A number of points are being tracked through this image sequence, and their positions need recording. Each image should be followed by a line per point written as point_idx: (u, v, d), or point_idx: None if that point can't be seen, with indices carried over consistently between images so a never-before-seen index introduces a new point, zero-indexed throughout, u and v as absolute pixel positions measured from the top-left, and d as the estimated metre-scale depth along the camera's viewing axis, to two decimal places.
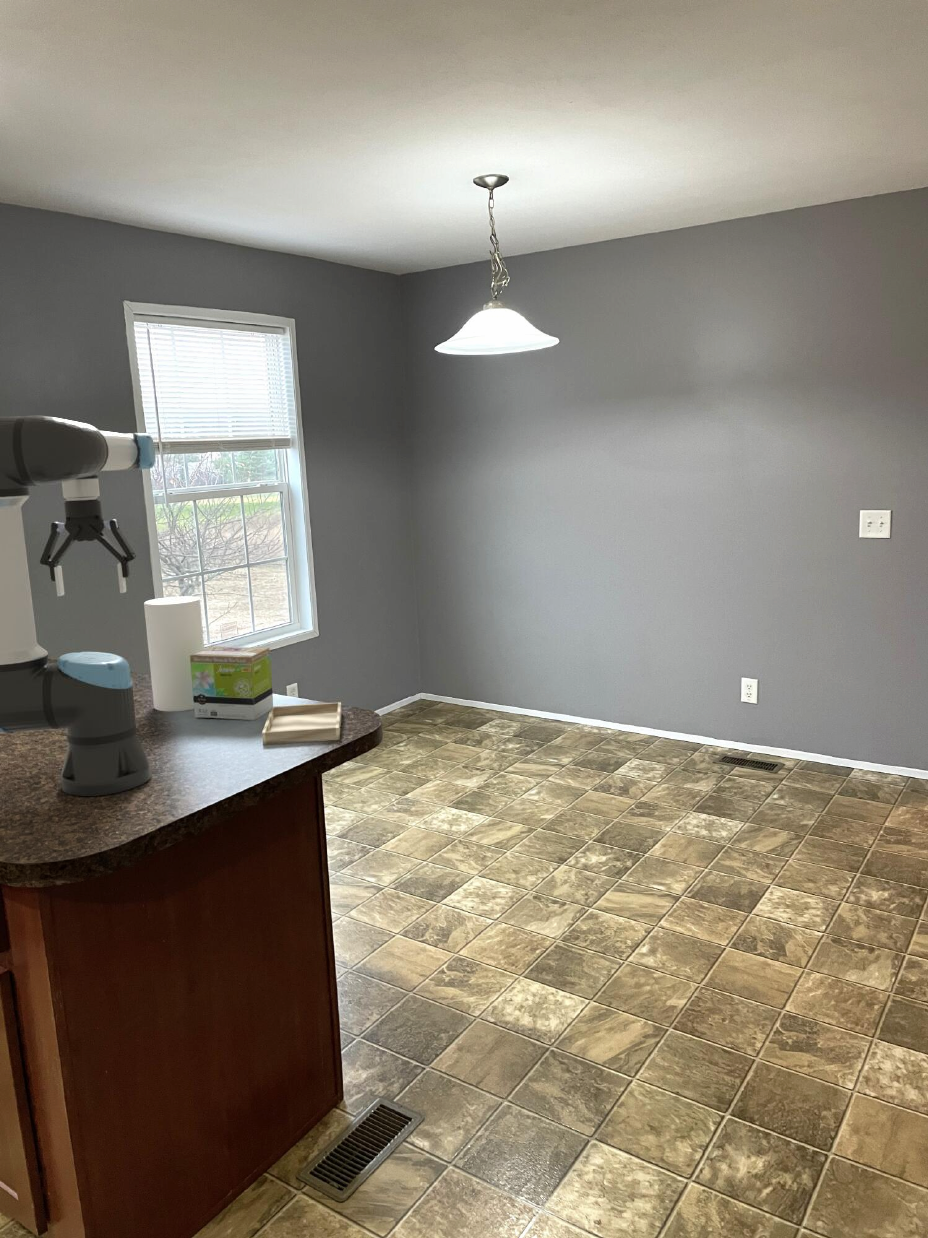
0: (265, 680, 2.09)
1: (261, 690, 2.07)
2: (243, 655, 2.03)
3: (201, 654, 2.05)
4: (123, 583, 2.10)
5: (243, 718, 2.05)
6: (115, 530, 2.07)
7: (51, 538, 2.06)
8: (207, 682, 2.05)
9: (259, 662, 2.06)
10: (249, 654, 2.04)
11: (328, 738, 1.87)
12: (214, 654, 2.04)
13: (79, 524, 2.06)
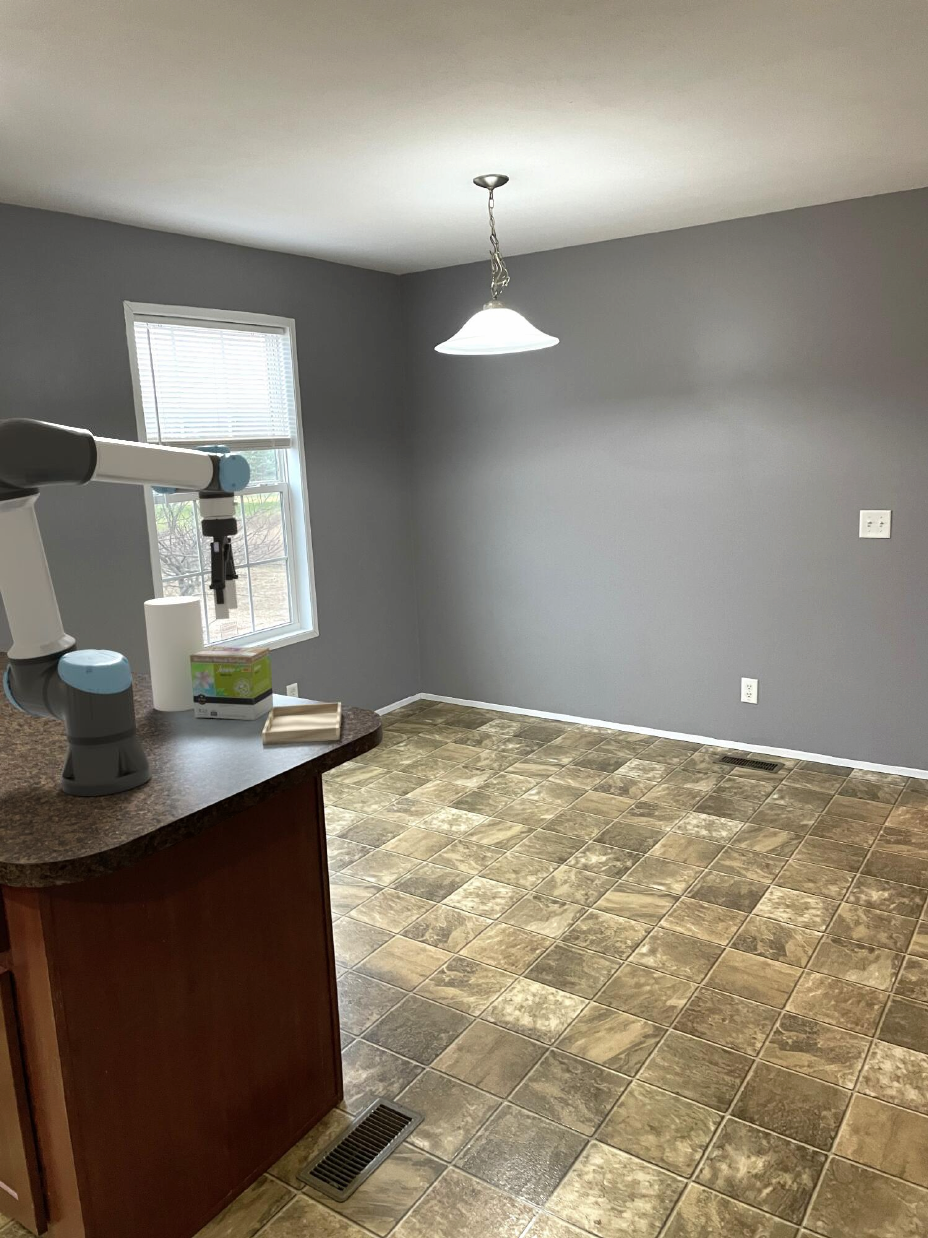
0: (265, 680, 2.09)
1: (261, 690, 2.07)
2: (243, 655, 2.03)
3: (201, 654, 2.05)
4: (218, 609, 1.99)
5: (243, 718, 2.05)
6: None
7: None
8: (207, 682, 2.05)
9: (259, 662, 2.06)
10: (249, 654, 2.04)
11: (328, 738, 1.87)
12: (214, 654, 2.04)
13: None
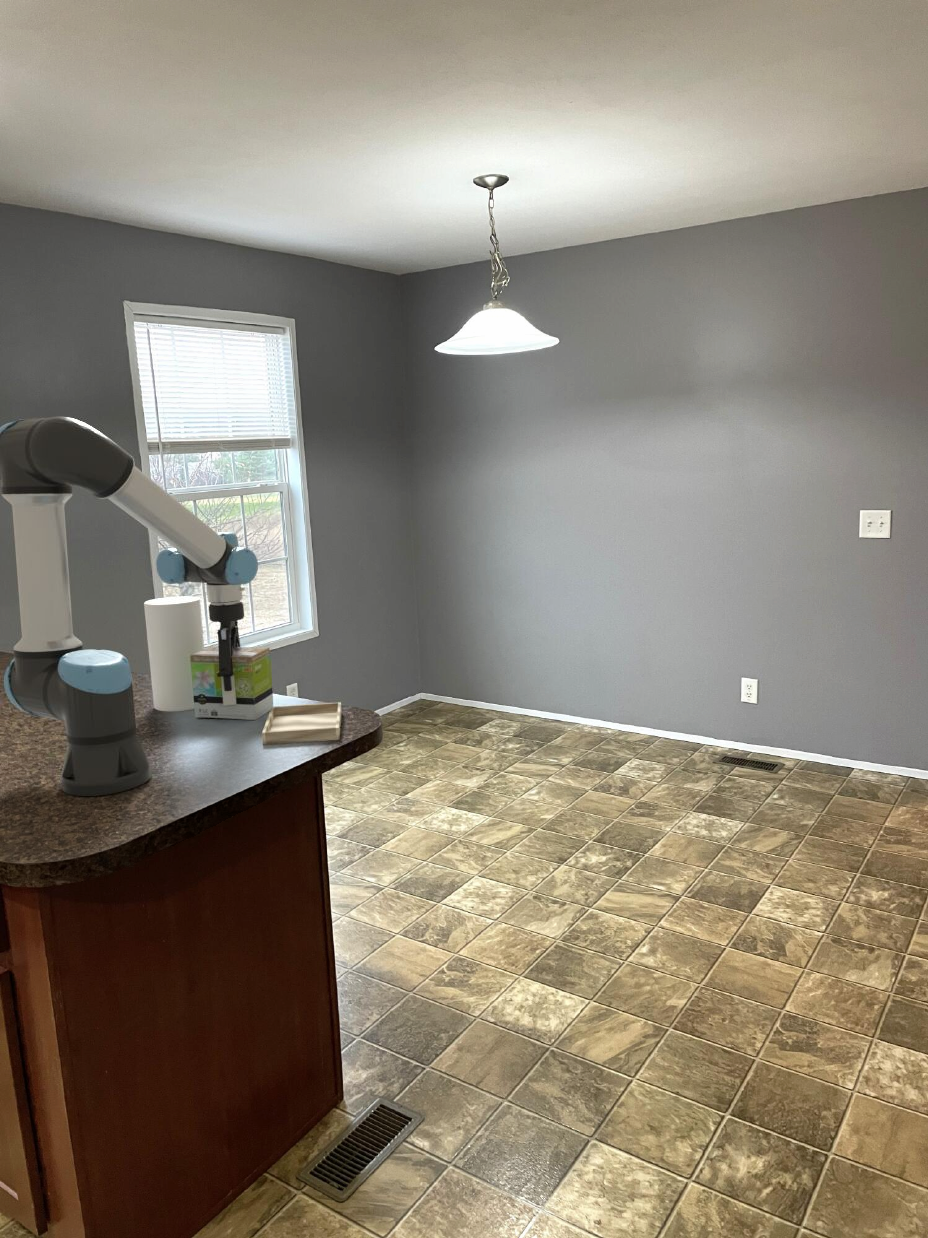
0: (265, 680, 2.09)
1: (262, 690, 2.07)
2: (244, 655, 2.03)
3: (201, 654, 2.05)
4: (226, 696, 2.03)
5: (244, 718, 2.05)
6: None
7: None
8: (207, 682, 2.05)
9: (260, 662, 2.06)
10: (250, 654, 2.04)
11: (328, 738, 1.87)
12: (214, 654, 2.04)
13: None
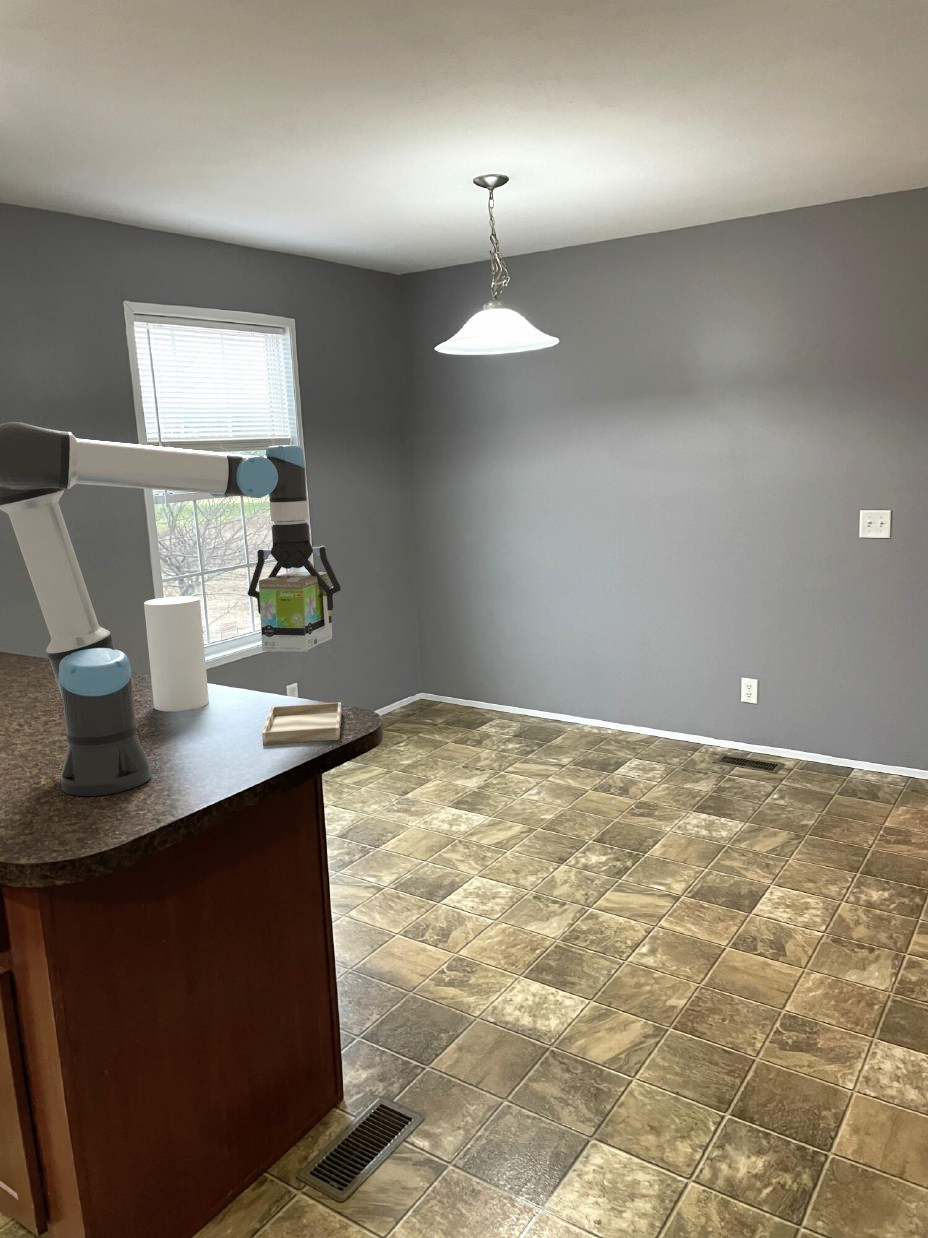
0: None
1: None
2: (321, 572, 1.96)
3: (304, 578, 1.86)
4: None
5: (328, 638, 1.97)
6: (324, 558, 1.90)
7: (258, 567, 1.89)
8: (312, 607, 1.88)
9: None
10: (318, 572, 1.97)
11: (328, 738, 1.87)
12: (309, 576, 1.89)
13: (287, 549, 1.89)
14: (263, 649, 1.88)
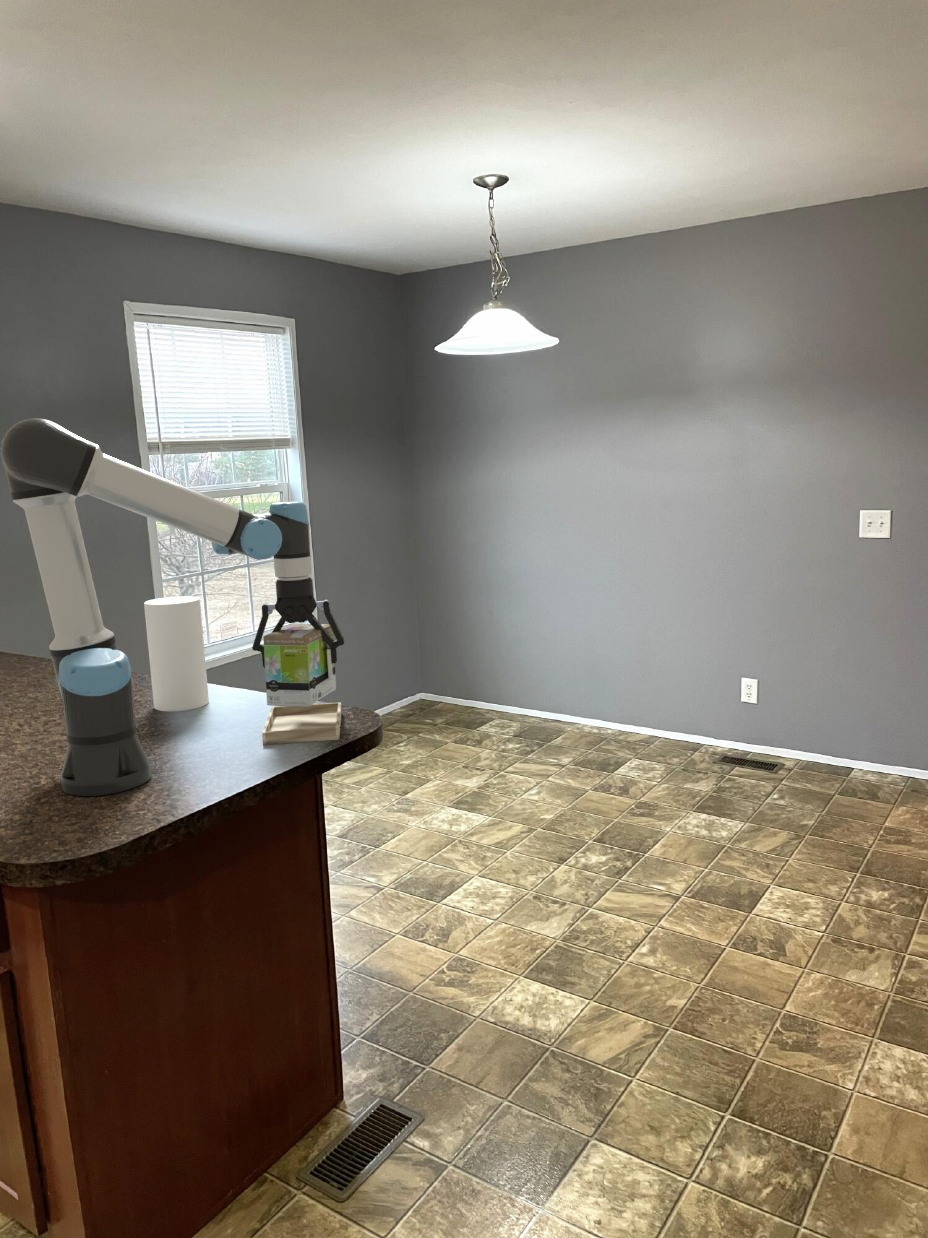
0: None
1: None
2: (324, 625, 1.98)
3: (308, 633, 1.88)
4: (331, 669, 1.95)
5: (331, 690, 1.99)
6: (328, 612, 1.92)
7: (262, 622, 1.91)
8: (316, 661, 1.90)
9: None
10: (322, 624, 1.99)
11: (328, 738, 1.87)
12: (313, 631, 1.91)
13: (291, 604, 1.91)
14: (268, 703, 1.90)
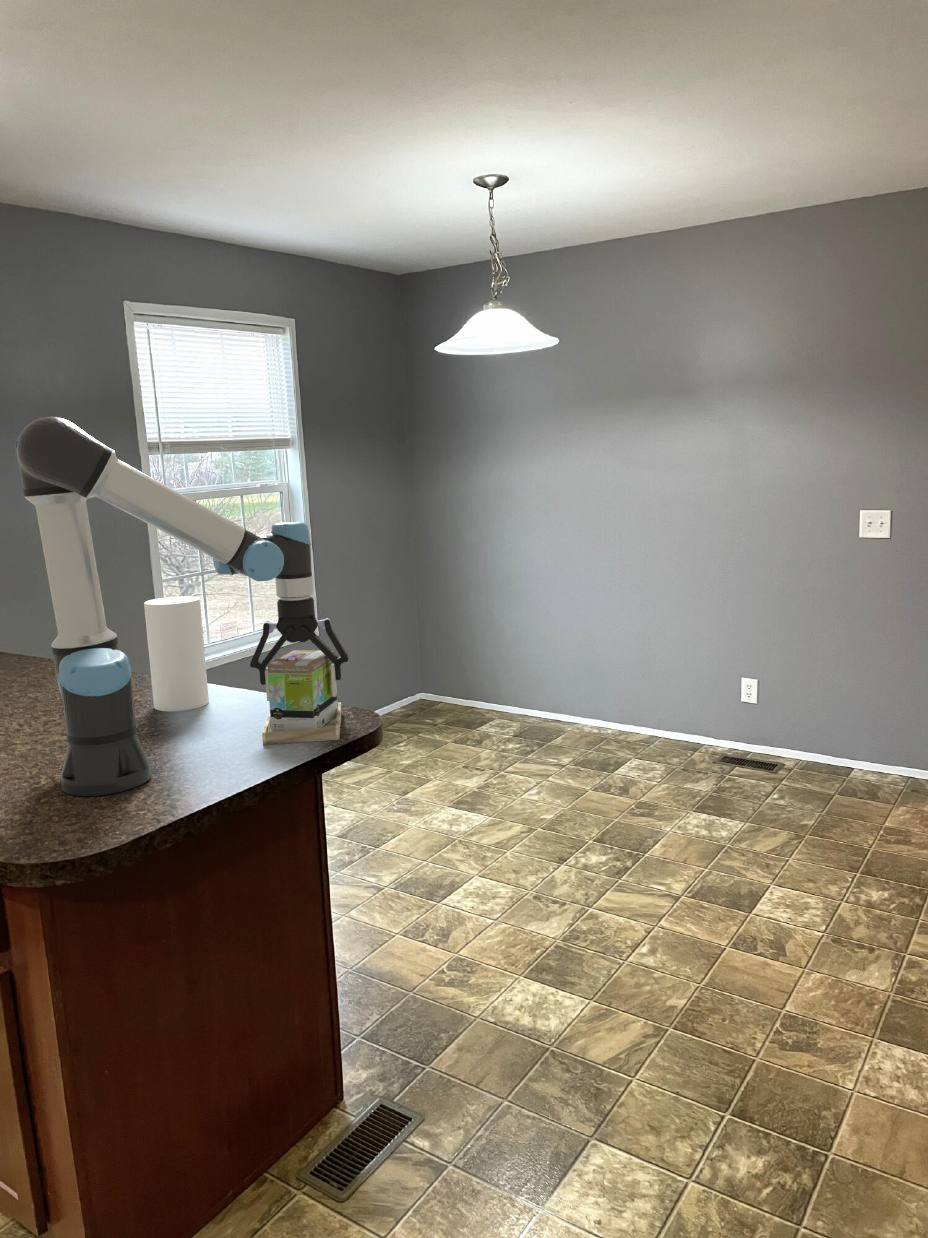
0: None
1: None
2: None
3: (312, 661, 1.89)
4: (335, 686, 1.96)
5: (334, 716, 2.00)
6: (330, 630, 1.93)
7: (263, 640, 1.92)
8: (320, 688, 1.91)
9: None
10: None
11: (328, 738, 1.87)
12: (317, 658, 1.92)
13: (292, 624, 1.92)
14: None
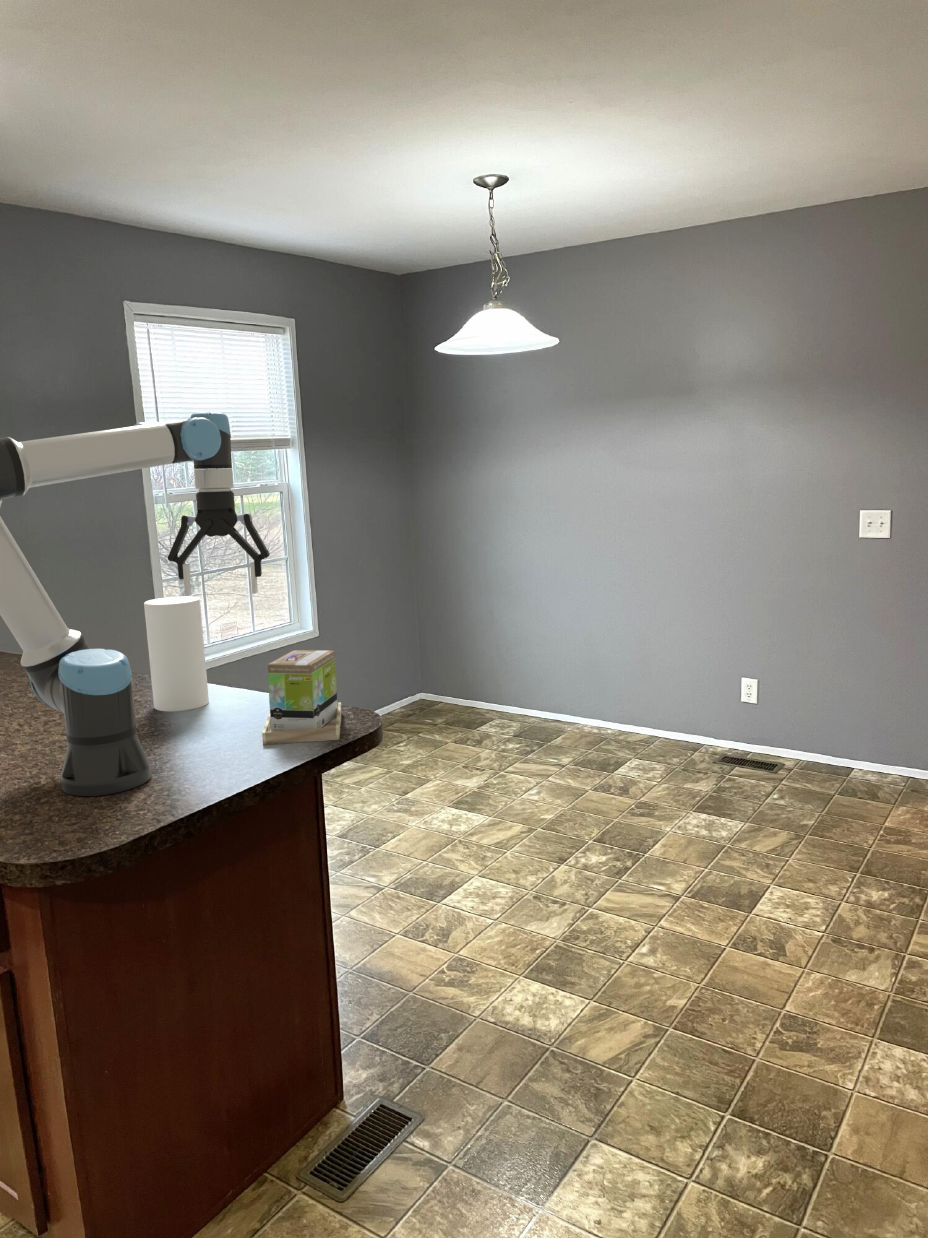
0: None
1: None
2: (327, 652, 1.99)
3: (312, 661, 1.89)
4: (255, 583, 1.92)
5: (334, 716, 2.00)
6: (249, 525, 1.90)
7: (181, 532, 1.89)
8: (320, 688, 1.91)
9: None
10: (324, 651, 2.00)
11: (328, 738, 1.87)
12: (317, 658, 1.92)
13: (211, 518, 1.89)
14: None
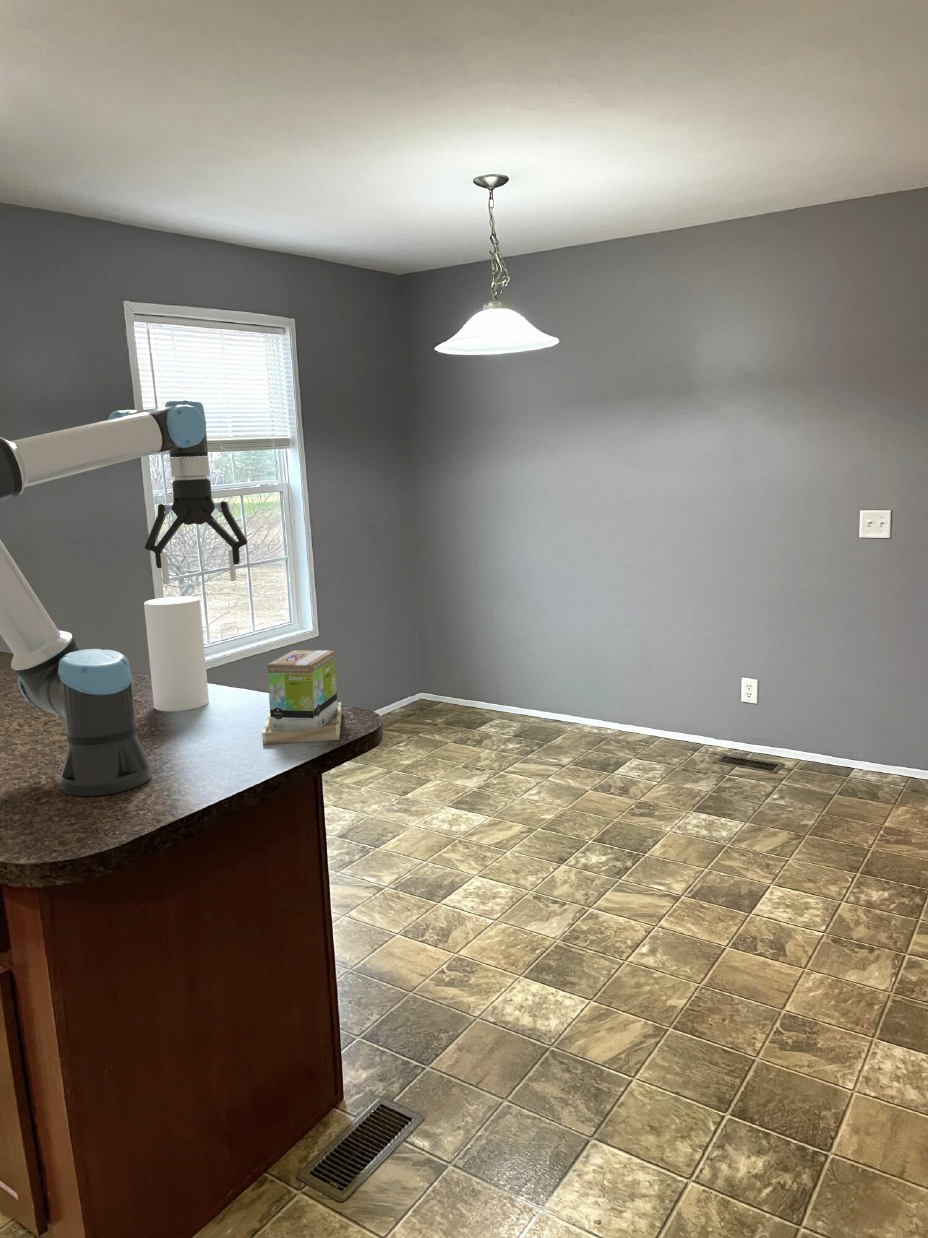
0: None
1: None
2: (327, 652, 1.99)
3: (312, 661, 1.89)
4: (234, 570, 1.93)
5: (334, 716, 2.00)
6: (226, 512, 1.90)
7: (157, 521, 1.89)
8: (320, 688, 1.91)
9: None
10: (324, 651, 2.00)
11: (328, 738, 1.87)
12: (317, 658, 1.92)
13: (188, 506, 1.89)
14: None
